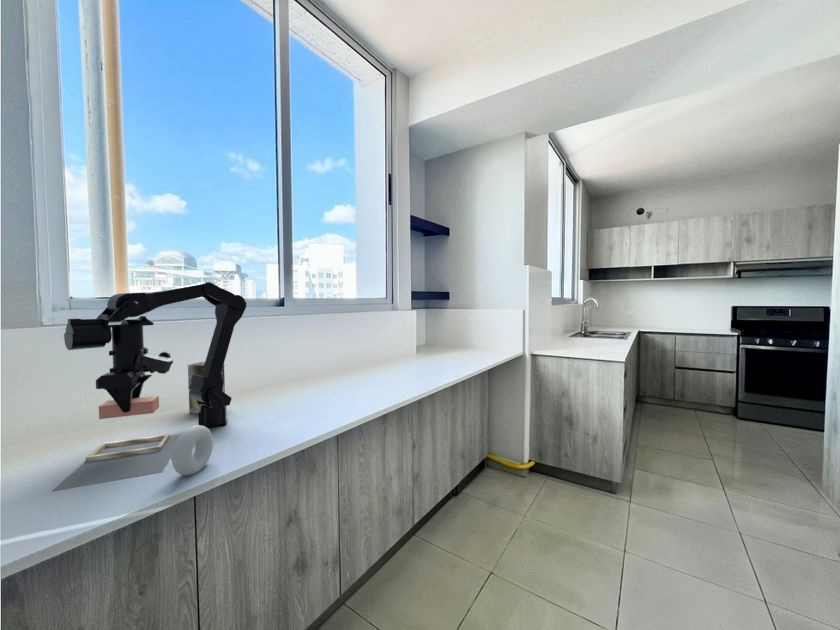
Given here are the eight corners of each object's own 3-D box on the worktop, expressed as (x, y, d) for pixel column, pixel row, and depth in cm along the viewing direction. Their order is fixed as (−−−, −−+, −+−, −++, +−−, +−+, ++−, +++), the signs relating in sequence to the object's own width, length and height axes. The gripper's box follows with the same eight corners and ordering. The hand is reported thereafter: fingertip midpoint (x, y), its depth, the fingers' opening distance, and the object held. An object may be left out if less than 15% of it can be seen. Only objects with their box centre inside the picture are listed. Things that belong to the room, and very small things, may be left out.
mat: (186, 435, 91) (186, 433, 91) (162, 474, 70) (162, 472, 70) (105, 446, 84) (104, 444, 84) (51, 493, 63) (51, 491, 63)
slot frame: (170, 437, 88) (170, 434, 88) (160, 450, 80) (160, 446, 80) (103, 447, 82) (102, 443, 82) (85, 462, 75) (85, 457, 75)
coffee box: (226, 409, 114) (225, 362, 113) (211, 415, 108) (209, 365, 107) (204, 407, 116) (203, 361, 115) (187, 413, 110) (186, 364, 109)
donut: (202, 461, 76) (201, 418, 76) (217, 461, 76) (216, 418, 75) (167, 485, 66) (166, 435, 66) (184, 485, 66) (183, 435, 65)
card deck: (108, 412, 81) (108, 400, 81) (159, 407, 86) (158, 395, 85) (99, 419, 77) (98, 406, 77) (153, 413, 81) (152, 400, 81)
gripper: (158, 347, 75) (160, 415, 76) (178, 339, 92) (179, 395, 93) (93, 350, 71) (96, 423, 71) (126, 341, 88) (128, 400, 88)
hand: (130, 408), depth 81 cm, fingers closed on card deck, 5 cm apart
